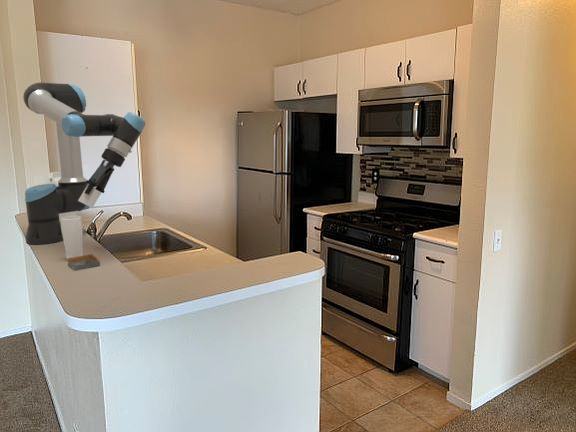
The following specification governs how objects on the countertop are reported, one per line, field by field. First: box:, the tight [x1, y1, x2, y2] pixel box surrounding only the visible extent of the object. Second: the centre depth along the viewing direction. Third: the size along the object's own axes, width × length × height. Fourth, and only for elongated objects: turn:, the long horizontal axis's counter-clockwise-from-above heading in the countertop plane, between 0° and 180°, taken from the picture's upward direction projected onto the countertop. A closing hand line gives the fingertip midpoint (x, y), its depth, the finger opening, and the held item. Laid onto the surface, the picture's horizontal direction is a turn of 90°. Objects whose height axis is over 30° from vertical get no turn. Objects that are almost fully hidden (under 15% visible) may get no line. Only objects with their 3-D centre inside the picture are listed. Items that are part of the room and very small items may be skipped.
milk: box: [44, 171, 77, 223], centre depth 230 cm, size 12×12×26 cm
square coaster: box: [66, 253, 101, 271], centre depth 154 cm, size 8×8×2 cm
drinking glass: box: [60, 215, 84, 261], centre depth 162 cm, size 7×7×15 cm
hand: (85, 204), depth 161 cm, fingers open, 13 cm apart
